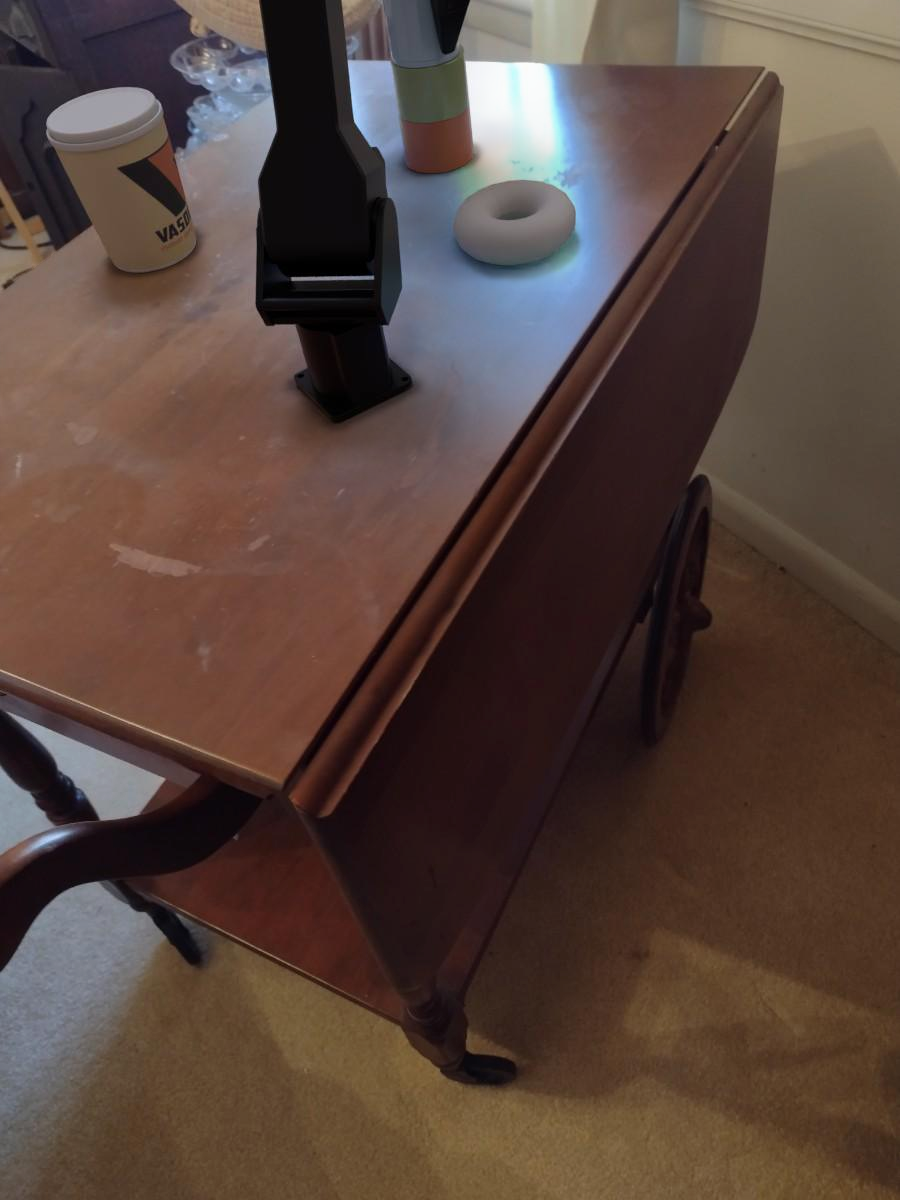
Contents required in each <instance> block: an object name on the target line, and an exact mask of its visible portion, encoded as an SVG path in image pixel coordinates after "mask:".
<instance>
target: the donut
mask: <svg viewBox="0 0 900 1200" xmlns="http://www.w3.org/2000/svg"><path fill="white" fill-rule="evenodd" d="M576 221H577V213H576V207H575V205H574V203H573V201H572V200H571V199H570V197H569V196H568V194H567V193H566V192H564V191H563V190H562V189H560V188H559V187H557V186H555V185H554V184H552V183H547V182H544V181H541V180H532V179H531V180H530V179H514V180H506V181H502V182H497V183H493V184H490V185H487V186H485V187H483V188H479V189H477V190H476V191H475V192H473V193H471V194H470V195H468V196H467V197H466V198H465V199H464V200H463V202H462V203H461V205H460V206H459V207H458V208H457V209H456V213H455V216H454V221H453V233H454V237H455V239H456V241H457V243H458V245H459V247H460V248H461V250H462V251H464V253H466V254H468V255H469V256H470V257H472V258H473V259H475V260H478V261H481V262H484V263H486V264H490V265H498V266H516V265H524V264H528V263H533V262H538V261H540V260H543V259H545V258H547V257H549V256H552V255H553V254H554V253H556V252H557V251H558V250H560V249H561V248H563V247H564V246H565V245H566V244H567V243H568V241H569V239H570V238H571V236H572V234H574V232H575V229H576Z"/></svg>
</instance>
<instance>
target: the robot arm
mask: <svg viewBox="0 0 900 1200" xmlns="http://www.w3.org/2000/svg"><path fill="white" fill-rule="evenodd" d="M470 2H471V0H430V3H431V7H432V12H433V17H434V22H435V27H436V32H437V37H438V41H439V44H440V48H441V52H442V54H444V55H447V54H450V53H452V52H454V51H455V48H456V45H457V41H458V38H459V39H460V35H461V31H462V28H463V26H464V22H465V18H466V15H467V12H468V9H469V6H470ZM258 3H259V4H258V5H259V11H260V17H261V24H262V31H263V32H262V33H263V39H264V46H265V54H266V60H267V66H268V74H269V83H270V89H271V95H272V104H273V109H274V110H273V111H274V118H275V127H276V129H275V130H276V131H275V133H274V136H273V139H272V141H271V144H270V147H269V149H268V152H267V153H266V157H265V159H264V162H263V165H262V167H261V170H260V172H259V175H258V178H257V188H258V189H257V190H258V199H259V208H258V211H257V218H256V228H255V233H256V234H255V237H256V238H255V239H256V241H255V243H256V261H255V298H254V299H255V302H254V303H255V309H256V311H257V313H258V314H259V316H260V318H261V320H262V322H263V323H264V325H265V326H266V327H275V326H278V325H279V326H280V325H281V326H284V325H285V326H288V325H289V326H291V325H292V326H295V329H296V332H297V336H298V339H299V343H300V346H301V351H302V353H303V357H304V360H305V364H306V368H305V369H303V370H301V371H297V372H296V373H295V374H294V375H293V380H294V383H295V384H296V385H297V386H298V388H300V389H301V390H302V392H303V393H304V394H305V395H307V397H308V398H309V399H310V400H311V401H312V402H313V403H314V404H315V405H316V406H317V407H318V408H319V409H320V410H321V411H322V412H323V414H325V415H326V416H327V417H328V418H329V420H331V421H332V422H341V421H343V420H345V419H347V418H349V417H351V416H353V415H355V414H357V413H359V412H362V411H363V410H366V409H368V408H369V407H372V406H374V405H375V404H378V403H380V402H381V401H384V400H386V399H388V398H390V397H393V396H395V395H397V394H399V393H400V392H403V391H405V390H407V389H408V388H410V387H412V386H413V378H412V375H410V374H409V373H407V372H406V371H405V370H404V369H403V368H402V367H401V366H399V364H397V363H396V362H395V361H394V360H393V359H392V358H390V357H389V351H388V345H387V341H386V336H385V329H384V326H390V323H391V320H392V318H393V315H394V312H395V310H396V306H397V304H398V301H399V298H400V296H401V293H402V290H403V276H402V275H403V273H402V262H401V261H402V260H401V249H400V247H401V246H400V235H399V234H400V233H399V222H398V221H399V220H398V214H397V209H396V205H395V202H394V200H393V199H392V198H391V197H389V196H388V188H387V174H386V161H385V159H384V157H383V154H382V152H381V151H380V149H379V148H378V147H377V146H371V145H370V142H368V139H366V137H365V136H364V134H363V132H362V131H361V130H360V128H359V127H358V125H357V123H356V122H355V117H354V108H353V100H352V90H351V89H352V88H351V80H350V71H349V70H350V68H349V61H348V60H349V58H348V48H347V41H346V40H347V39H346V30H345V20H344V8H343V1H342V0H258ZM325 277H326V278H328V277H331V278H332V277H333V278H334V277H339V278H340V277H341V278H342V277H373V278H372V279H318V280H317V279H316V280H312V279H311V280H309V279H307V280H305V279H304V280H292V278H325Z"/></svg>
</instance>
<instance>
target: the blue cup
mask: <svg viewBox="0 0 900 1200" xmlns="http://www.w3.org/2000/svg"><path fill="white" fill-rule="evenodd" d="M382 4H383V5H382V6H383V11H384V18H385V25H386V31H387V37H388V45H389V51H390V52H389V53H390V55H391V57H392V61H393V62H394V63H395V64H396V65H398V66H401V67H406V68H424V67H431V66H435V65H439V64H442V63H445V62H447V61H449V60H451V59H453V58H454V57H456V56H457V55H458V53H459V44H460V37H459V38H458V41H457V45H456V48H455V51H454V52H452V53H450V54H447V55H444V54H442V52H441V48H440V44H439V41H438V37H437V32H436V27H435V22H434V17H433V12H432V7H431V3H430V0H382Z"/></svg>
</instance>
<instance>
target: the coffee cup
mask: <svg viewBox="0 0 900 1200" xmlns="http://www.w3.org/2000/svg"><path fill="white" fill-rule="evenodd" d="M46 137H47V139H48V141H49V143H50V145H51V146H52V147H53V148H54V149H55V152H56V154H57V156H58V158H59V161H60V162H61V163H60V164H62V167H63V169H64V171H65V173H66V175H67V177H68V179H69V180H70V183H71V184H72V187H73V189H74V190H75V193H76V195H77V197H78V199H79V200H80V203H81V204H82V207H83V208H84V210H85V212H86V215H87V216H88V219H89V220H90V222H91V224H92V226H93V229H94V230H95V231H96V233H97V235H98V237H99V239H100V241H101V243H102V246H103V248H104V250H105V251H106V253H107V255H108V256H109V259H110V260H111V262H112V264H113V265H114V266H115V267H116V268H117V269H119V270H120V271H123V272H126V273H133V274H136V273H138V274H139V273H140V274H141V273H149V272H155V271H159V270H163V269H166V268H169V267H171V266H173V265H175V264H177V263H180V262H181V261H182V260H184V259H186V258H187V257H188V256H189V255H190V254H191V253H192V252H193V251H194V249H195V247H196V245H197V235H196V232H195V228H194V223H193V220H192V216H191V213H190V209H189V205H188V201H187V197H186V194H185V190H184V187H183V182H182V179H181V175H180V171H179V168H178V164H177V160H176V157H175V153H174V150H173V146H172V142H171V139H170V135H169V132H168V129H167V125H166V122H165V119H164V109H163V106H162V104H161V102H160V100H159V99H157V98H156V96H155V95H154V94H153V92H151V91H150V90H148V89H145V88H141V87H135V86H134V87H132V86H121V87H112V88H107V89H101V90H97V91H92V92H89V93H86V94H83V95H81V96H77V97H75V98H73V99H71V100H69V101H66V102H65V103H63V104H61V105H60V106H58V107H57V108H56V109H54V110H53V111H52V112H51V113H50V114H49V116H48V117H47V119H46Z"/></svg>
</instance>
